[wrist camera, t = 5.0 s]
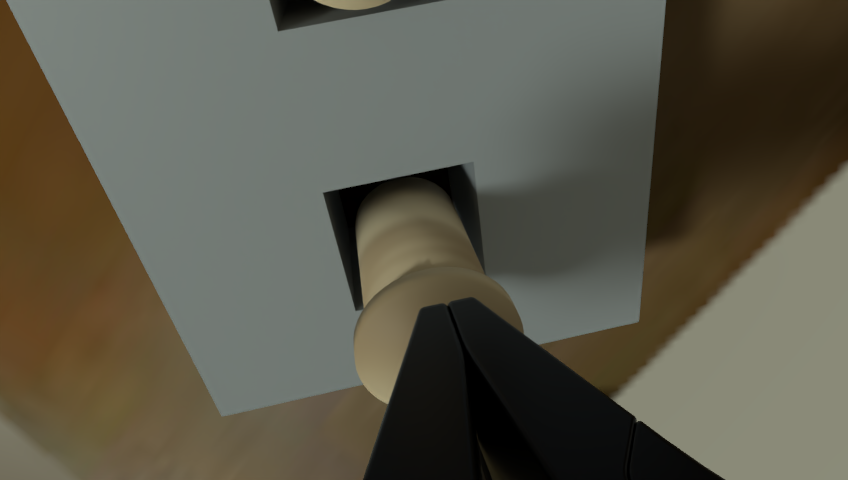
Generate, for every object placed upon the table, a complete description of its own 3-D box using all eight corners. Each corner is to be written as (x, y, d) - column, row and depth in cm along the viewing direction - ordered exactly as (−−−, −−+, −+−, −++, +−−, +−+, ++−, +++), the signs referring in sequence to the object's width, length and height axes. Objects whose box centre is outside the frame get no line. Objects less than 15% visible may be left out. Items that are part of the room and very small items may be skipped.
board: (579, 244, 23) (638, 321, 18) (240, 317, 22) (221, 416, 18) (583, -386, 13) (711, -527, 9) (-22, -297, 12) (-205, -407, 8)
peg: (471, 260, 17) (527, 391, 13) (358, 285, 17) (373, 427, 12) (458, 155, 15) (519, 264, 11) (331, 181, 15) (336, 303, 10)
